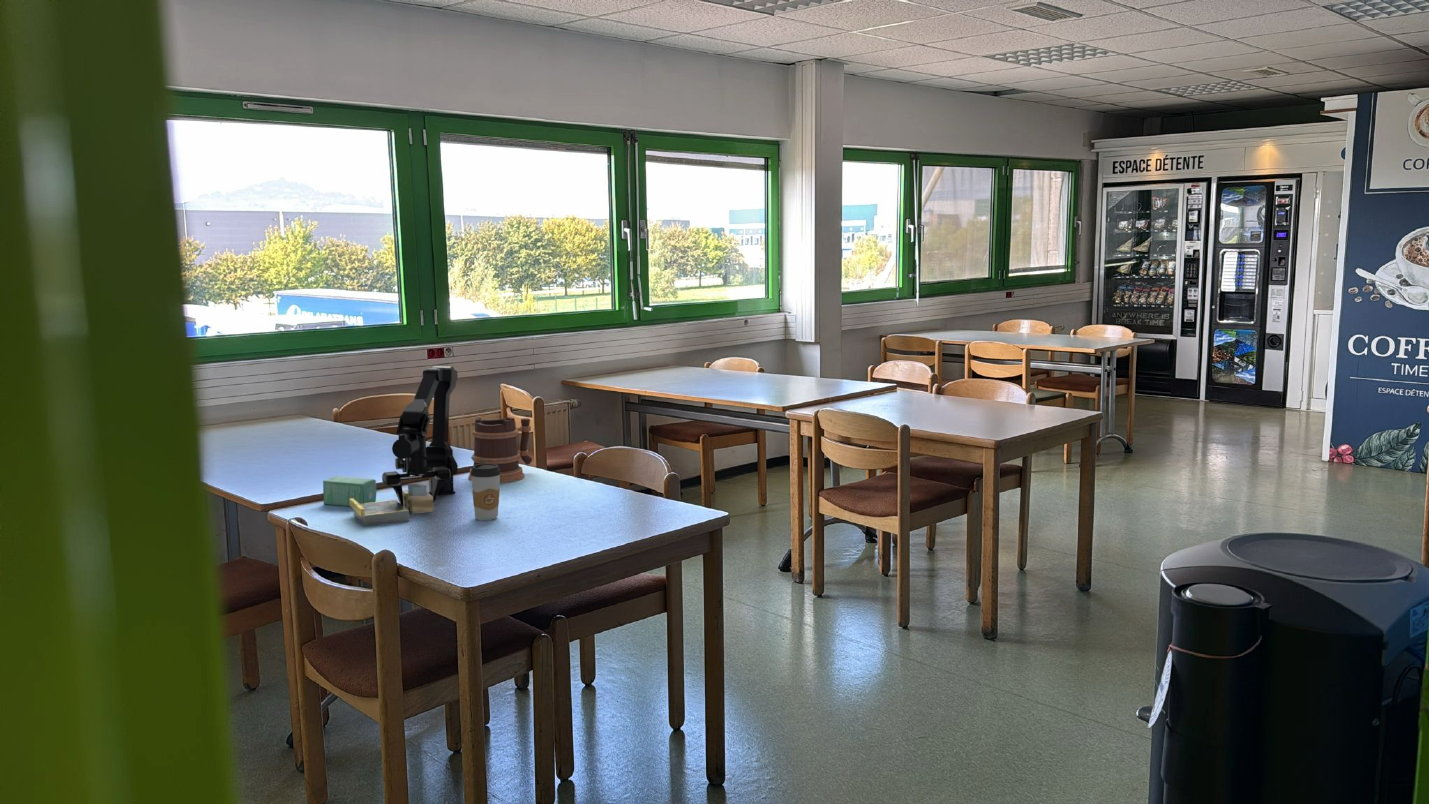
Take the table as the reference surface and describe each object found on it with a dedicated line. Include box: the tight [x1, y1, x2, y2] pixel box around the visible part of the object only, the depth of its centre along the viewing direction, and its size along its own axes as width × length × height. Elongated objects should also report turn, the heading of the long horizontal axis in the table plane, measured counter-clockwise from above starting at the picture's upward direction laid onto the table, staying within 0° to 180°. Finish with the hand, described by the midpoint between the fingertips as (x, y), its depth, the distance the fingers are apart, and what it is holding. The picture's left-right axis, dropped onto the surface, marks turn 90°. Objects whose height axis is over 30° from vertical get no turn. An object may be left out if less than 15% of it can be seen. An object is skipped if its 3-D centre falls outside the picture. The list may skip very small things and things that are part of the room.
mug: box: [467, 416, 533, 484], centre depth 348 cm, size 18×23×20 cm
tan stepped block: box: [402, 489, 434, 515], centre depth 307 cm, size 11×6×4 cm, turn 31°
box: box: [322, 475, 377, 507], centre depth 312 cm, size 7×14×8 cm, turn 77°
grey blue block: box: [407, 482, 428, 496], centre depth 306 cm, size 5×4×2 cm
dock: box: [349, 498, 410, 527], centre depth 295 cm, size 13×14×5 cm
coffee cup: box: [469, 464, 501, 521], centre depth 296 cm, size 8×8×15 cm
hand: (417, 504), depth 307 cm, fingers open, 9 cm apart
